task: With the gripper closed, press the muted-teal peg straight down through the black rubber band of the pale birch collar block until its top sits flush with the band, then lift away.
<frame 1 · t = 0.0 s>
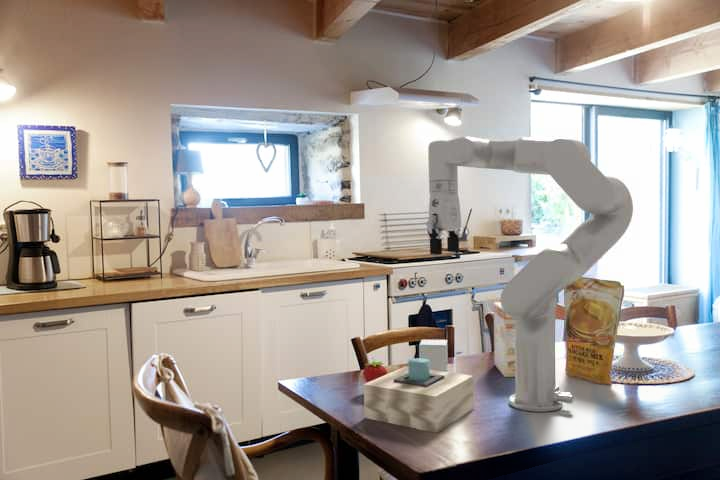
hand: (444, 253, 164), 37 cm above the table, tool pointing down, fingers open, 9 cm apart
collar block: (420, 413, 148), on the table
supplement box: (434, 388, 168), on the table
coffeecake box: (510, 371, 184), on the table
strawberry: (375, 394, 165), on the table
pancake mix bag: (590, 378, 174), on the table
teal peg: (419, 375, 148), point 9 cm above the table, slide at 4.0 cm
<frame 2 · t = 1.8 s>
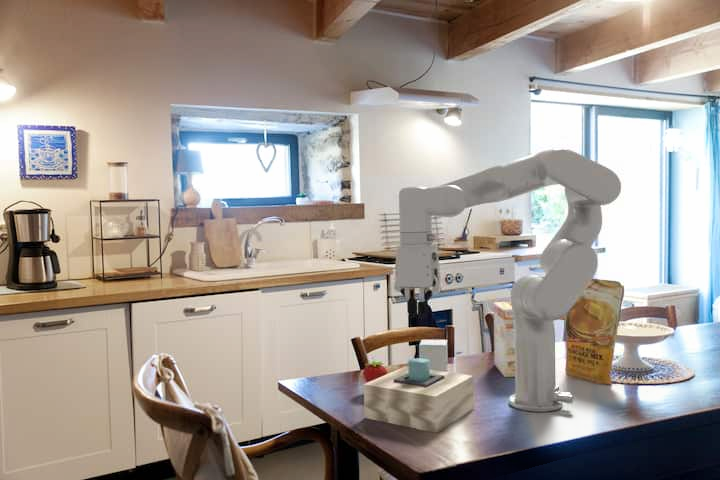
hand: (417, 316, 147), 23 cm above the table, tool pointing down, fingers closed
nothing on the table moved.
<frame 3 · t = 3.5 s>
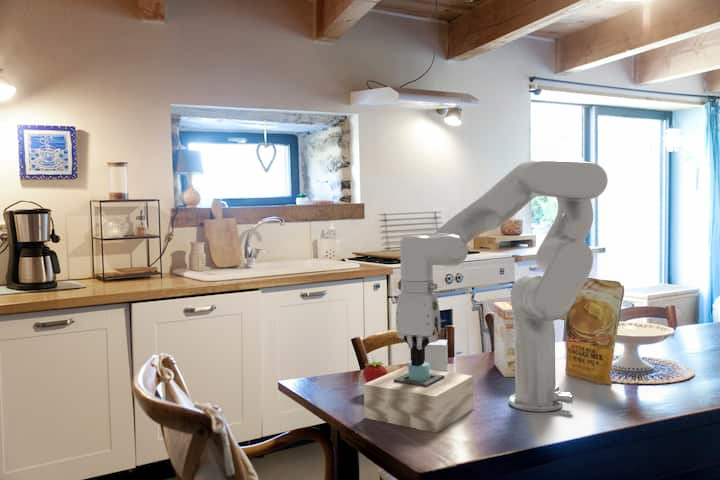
hand: (417, 364, 147), 12 cm above the table, tool pointing down, fingers closed
teal peg: (419, 379, 148), point 8 cm above the table, slide at 3.1 cm, touching gripper
everything else where it was.
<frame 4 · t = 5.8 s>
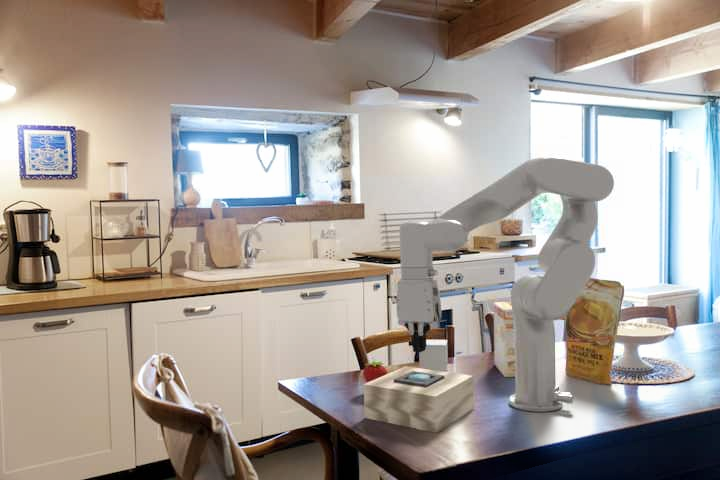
hand: (419, 350, 147), 15 cm above the table, tool pointing down, fingers closed
teal peg: (419, 391, 148), point 5 cm above the table, slide at 0.2 cm
everything else where it was.
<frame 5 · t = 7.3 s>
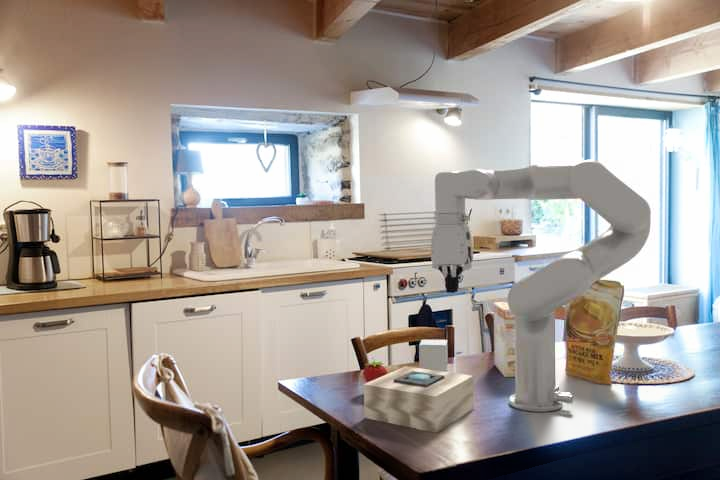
hand: (452, 291, 159), 27 cm above the table, tool pointing down, fingers closed
nothing on the table moved.
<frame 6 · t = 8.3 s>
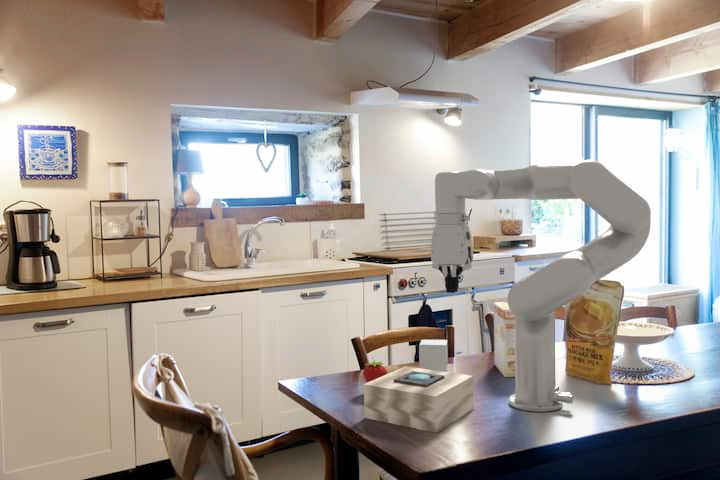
hand: (452, 291, 159), 27 cm above the table, tool pointing down, fingers closed
nothing on the table moved.
at the end: teal peg slide at 0.2 cm; strawberry moved 0.2 cm from its start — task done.
